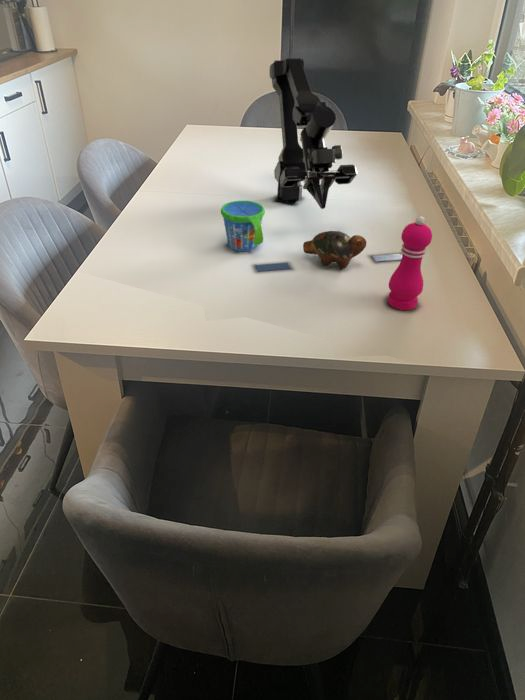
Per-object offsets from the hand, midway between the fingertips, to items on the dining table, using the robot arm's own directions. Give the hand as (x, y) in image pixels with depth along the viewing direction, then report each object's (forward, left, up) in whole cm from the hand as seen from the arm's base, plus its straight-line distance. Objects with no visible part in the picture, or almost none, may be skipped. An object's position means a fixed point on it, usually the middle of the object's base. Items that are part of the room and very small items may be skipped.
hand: (323, 208), depth 135 cm
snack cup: (-17, -10, -10) cm, 22 cm away
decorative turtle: (+6, -8, -10) cm, 14 cm away
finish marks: (+6, -8, -10) cm, 14 cm away
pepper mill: (+26, -19, -10) cm, 34 cm away
